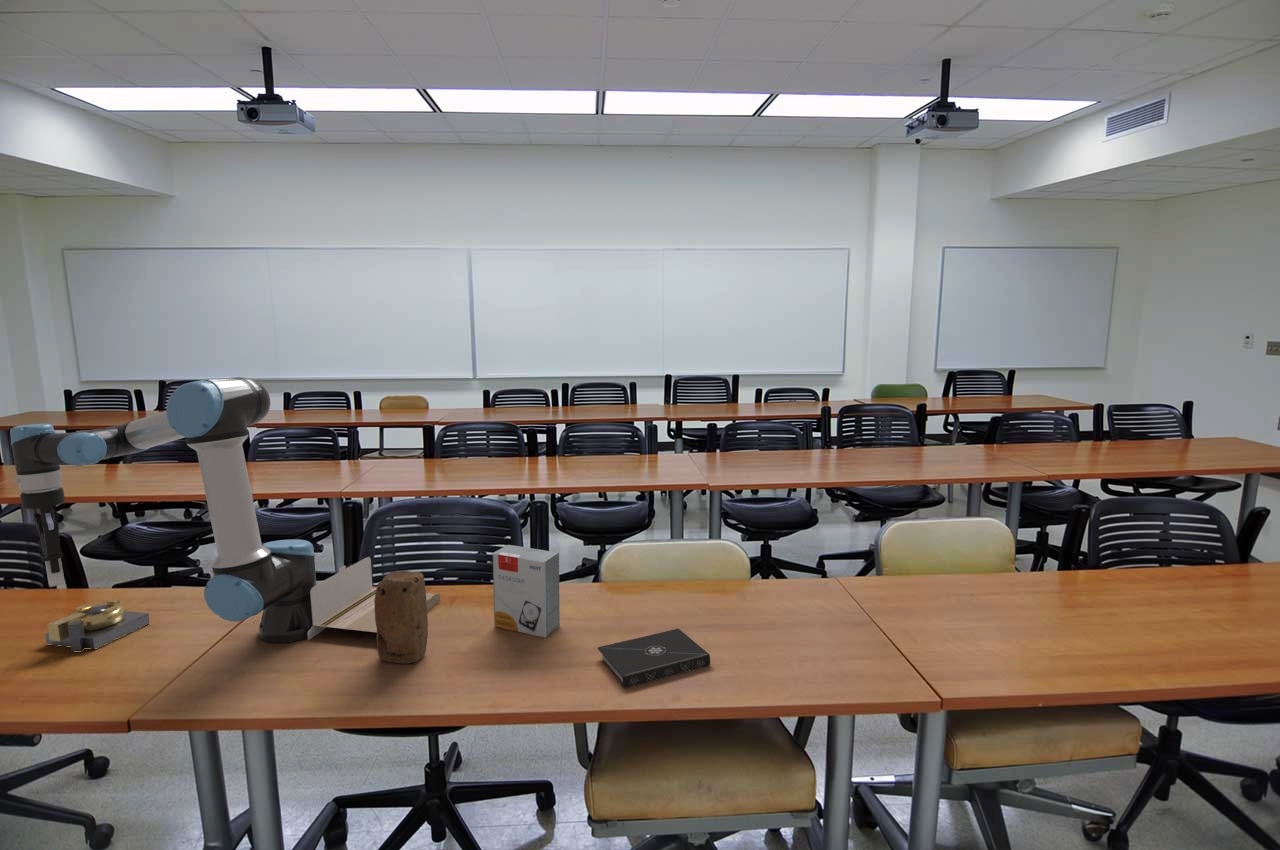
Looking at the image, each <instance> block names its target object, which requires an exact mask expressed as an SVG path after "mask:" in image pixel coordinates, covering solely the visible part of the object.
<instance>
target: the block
mask: <svg viewBox="0 0 1280 850" xmlns="http://www.w3.org/2000/svg"><path fill="white" fill-rule="evenodd" d="M376 588H377V589H376V593H375V599H374V605H375V621H376V627H377V632H376V643H377V644H376V649H377V654H378V655H377V656H378V658H379V659H380V660H381V661H384V662H385V661H387V662H388V663H394V664H412V663H414V662H415V663H417V662H418V661H420V660H421V659H422V658H423V657H424V656H425V654H426V651H427V645H428V638H429V635H428V634H429V621H428V620H429V619H428V611H427V602H426V593H427V592H426V591H427V590H426V583H425V577H424V574H423V573H422V572H419V571H410V570H399V571H398V570H396V571H392V572H389V573H388V574H385V576H384V577H383V579H382V580H380V581H379V582H378V584H377V586H376Z"/></svg>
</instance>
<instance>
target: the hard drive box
mask: <svg viewBox="0 0 1280 850" xmlns="http://www.w3.org/2000/svg"><path fill="white" fill-rule="evenodd" d="M492 578H493V579H492V584H493V585H492V586H493V588H492V589H493V614H494V615H493V617H494V621H493V623H494V625H493V626H494V628H495V627H496V628H499V629H504V630H506V631H514V632H517V633H518V632H519V633H522V634H526V635H530V636H534V637H541V638H547V637H548V636H549V635H550V634H552V633H553V632H554V631H556V630H557V628H559V627H560V626H561V625H560V624H561V623H560V617H561V616H560V615H561V614H560V612H561V611H560V553H559V552H555V551H550V550H545V549H538V548H531V547H525V546H519V545H513V544H512V545H511V544H507V545H505V546H503V547H501V548H499V549H498V550H496V551H494V552H492Z"/></svg>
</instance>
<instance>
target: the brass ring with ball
mask: <svg viewBox="0 0 1280 850" xmlns="http://www.w3.org/2000/svg"><path fill="white" fill-rule="evenodd" d="M124 611H125V610H124V606H123V603H121V601H120V599H109V600H106V602H101V603H96V604H90V603H89V604H88V603H85V604H82V605H80V606H78V607H75V611H73V612H72V613H71V614H69V615H67V616H64V617H61V618H59V619H57V620H55V621H52V622H49V623H47V631H48V632H49V638H50V640H52V641H62V640H64V639H67V638H69V631H68V625H69V624H70V623H72V622H73V621H83V624H84V631H90V630H96V629H100V628H104V627H107V626H110V625H113V624H115V623H117V622H119V621H121V620H122V619H123V618H124Z"/></svg>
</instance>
